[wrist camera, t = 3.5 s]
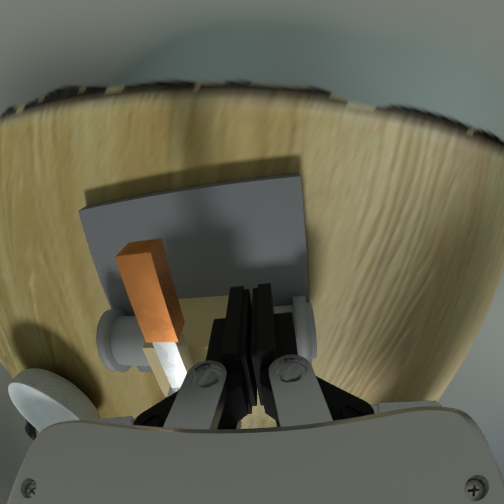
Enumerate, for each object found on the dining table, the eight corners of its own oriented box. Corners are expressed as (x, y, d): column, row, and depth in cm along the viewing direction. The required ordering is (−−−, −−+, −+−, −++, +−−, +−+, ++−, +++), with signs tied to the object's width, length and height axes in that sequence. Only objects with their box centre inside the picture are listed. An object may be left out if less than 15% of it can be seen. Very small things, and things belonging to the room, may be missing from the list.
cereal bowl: (115, 386, 37) (99, 423, 30) (110, 433, 43) (99, 463, 37) (21, 336, 35) (-3, 365, 28) (32, 393, 41) (17, 418, 35)
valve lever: (213, 394, 22) (210, 413, 21) (178, 394, 23) (174, 412, 21) (168, 237, 17) (157, 251, 15) (123, 243, 17) (109, 257, 15)
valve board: (298, 173, 24) (318, 202, 16) (309, 355, 33) (319, 422, 24) (86, 206, 26) (27, 243, 18) (143, 363, 34) (119, 421, 26)
